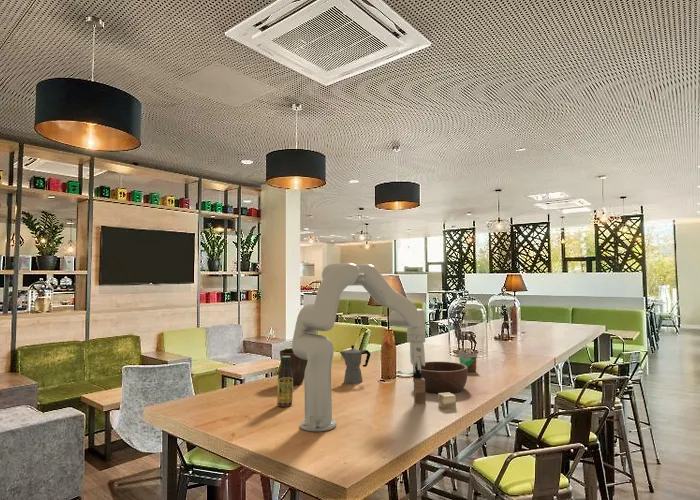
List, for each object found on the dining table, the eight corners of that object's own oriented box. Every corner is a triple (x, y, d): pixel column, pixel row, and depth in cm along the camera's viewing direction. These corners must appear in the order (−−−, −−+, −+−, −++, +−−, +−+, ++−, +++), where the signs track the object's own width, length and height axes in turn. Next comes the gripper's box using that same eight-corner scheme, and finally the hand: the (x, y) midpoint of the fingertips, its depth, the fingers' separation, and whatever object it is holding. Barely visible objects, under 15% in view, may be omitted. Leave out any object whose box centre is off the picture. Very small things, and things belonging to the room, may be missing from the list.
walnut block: (425, 405, 183) (425, 380, 183) (415, 405, 182) (415, 380, 183) (423, 402, 187) (423, 377, 187) (414, 402, 186) (413, 378, 187)
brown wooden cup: (312, 380, 231) (312, 348, 232) (307, 387, 216) (306, 353, 217) (283, 380, 233) (283, 348, 234) (276, 387, 218) (276, 353, 219)
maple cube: (456, 408, 178) (455, 395, 178) (444, 409, 177) (444, 396, 177) (449, 404, 183) (449, 392, 183) (438, 406, 181) (438, 393, 182)
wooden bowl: (403, 386, 215) (402, 364, 216) (444, 380, 227) (444, 359, 227) (436, 398, 193) (435, 374, 194) (480, 390, 204) (479, 367, 205)
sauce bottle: (278, 408, 182) (277, 358, 183) (276, 404, 188) (276, 355, 189) (294, 406, 183) (293, 357, 185) (292, 402, 189) (291, 354, 191)
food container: (454, 369, 252) (453, 351, 253) (462, 368, 255) (462, 350, 256) (468, 373, 241) (468, 354, 242) (477, 372, 244) (477, 353, 244)
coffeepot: (339, 384, 222) (338, 346, 223) (340, 379, 231) (340, 344, 232) (370, 384, 221) (370, 346, 222) (371, 379, 230) (370, 343, 231)
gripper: (428, 340, 184) (429, 386, 183) (421, 335, 199) (423, 378, 197) (410, 340, 184) (411, 387, 182) (404, 336, 198) (405, 378, 197)
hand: (417, 382), depth 190 cm, fingers closed
